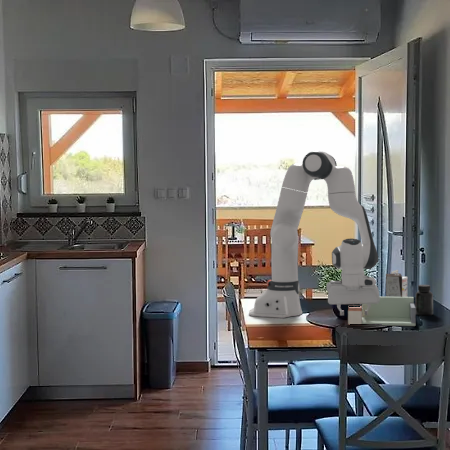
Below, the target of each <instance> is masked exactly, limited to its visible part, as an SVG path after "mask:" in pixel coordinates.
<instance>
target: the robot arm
mask: <svg viewBox="0 0 450 450" xmlns="http://www.w3.org/2000/svg"><path fill="white" fill-rule="evenodd" d="M352 172H353V171H352V170H351V169H350V168H349V167H347V166H343V165H339V166H338V165H337V161H336V159H335V158H334V157H333V156H332V155H331V154H329V153H327V152H325V151H320V150H312V151H309V152H308V153H307V154H306V155H304V157H303V159H302V163H292V164H291V165H289V166H288V168H287V171H286V173H285V175H284V178H283V181H282V185H281V189H280V193H279V198H278V202H277V204H276V205H277V206H276V209H275V212H274V216H273V220H272V224H271V228H270V234H269V236H270V241H271V251H270V252H271V261H270V262H271V263H270V264H271V279H267V282H266V288H267V289H266V290H264V291H263V292H262V293H261V294H260V295H258V296H257V297H256V299H255V301H254V306H253V308H251V309H250V310H249V311H248V315H249V316H251V317H264V318H280V319H281V318H282V319H286V318H289V317H295V316H300V315H302V314H303V311H302V306H301V301H300V295H299V294H300V280H299V271H298V270H299V267H298V264H299V263H298V259H299V257H298V255H299V233H298V230H299V226H300V221H301V219H302V215H303V213H304V208H305V204H306V200H307V196H308V191H309V188H310V184H311V182H312V181H313V180H314V181H318V180H324V181H325V182H326V186H327V199H328V200H327V201H328V204H329V208H330V209H331V210H332V212H333V213H335V214H337V215H338V216H340V217H344V218H346V219H350V220H352V221H354V222H355V224H356V225H357V228H358V231H359V235H360V236H359V237H360V239H358V238H344V239H343V240H342V241H341V244H340V245H338V246H336V247H335V248H334V249H332V252H331V264H332V265H333V267H335V268H336V269H338V270H341V273H340V274H341V280H330V281H329V282H327V284H326V291H327V292H328V293H327V303H328V304H329V305H336V307H337V310H338V311H339V316H345V310H342V307H341V305H362V304H367V307H368V308H367V310H364V314H365V315H368V311H369V309H370V307H371V304H378V303H379V302H380V297H381V296H380V290H379V287H378V286H377V284H376V283H377V280H376V278H374V277H372V276H367V275H365V270H371V269H373V268H374V267H375V266H376V265H377V263H378V261H379V254H378V251H377V248H376V245H375V242H374V237H373V233H372V230H371V225H370V221H369V217H368V215H367V210H366V208H365V206H364V205H362V204H360V202H359V201H358V198H357V195H356V186H355V181H354V176H353V173H352Z"/></svg>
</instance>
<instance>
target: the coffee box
mask: <svg viewBox="0 0 450 450" xmlns="http://www.w3.org/2000/svg"><path fill="white" fill-rule="evenodd" d="M402 277H403V276H402V273H399V272H398V273H394V274H391V273H385V297H402Z"/></svg>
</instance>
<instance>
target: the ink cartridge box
mask: <svg viewBox="0 0 450 450" xmlns="http://www.w3.org/2000/svg"><path fill="white" fill-rule="evenodd" d="M394 273H399V269H396V270H392V271H391V272H390V274H394ZM408 279H409V278H408V276H402V297H408Z"/></svg>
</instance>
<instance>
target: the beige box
mask: <svg viewBox="0 0 450 450" xmlns="http://www.w3.org/2000/svg"><path fill="white" fill-rule="evenodd" d="M359 306H360V307H349V306H348V310H347V325H348V326H351V325H350V324H362V305H359Z"/></svg>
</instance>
